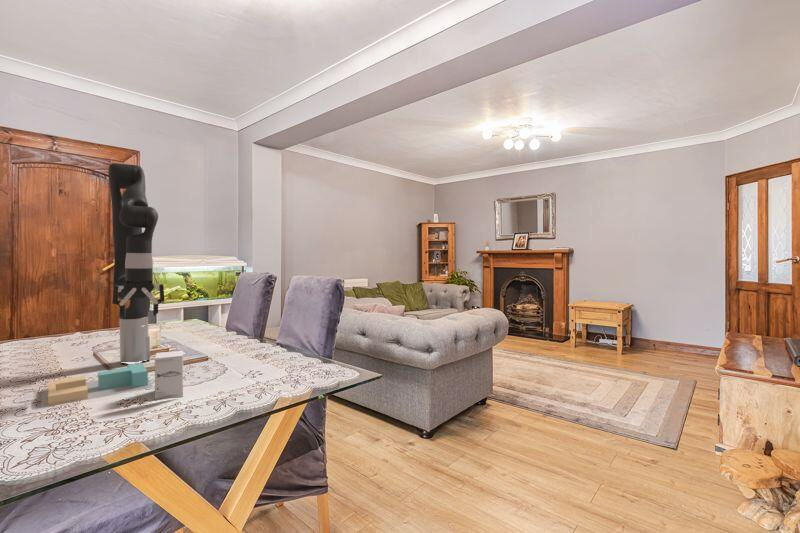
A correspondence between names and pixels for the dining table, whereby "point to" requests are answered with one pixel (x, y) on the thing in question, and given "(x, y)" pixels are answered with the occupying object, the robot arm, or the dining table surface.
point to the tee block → (124, 377)
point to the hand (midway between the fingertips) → (139, 316)
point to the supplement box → (169, 375)
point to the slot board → (96, 392)
